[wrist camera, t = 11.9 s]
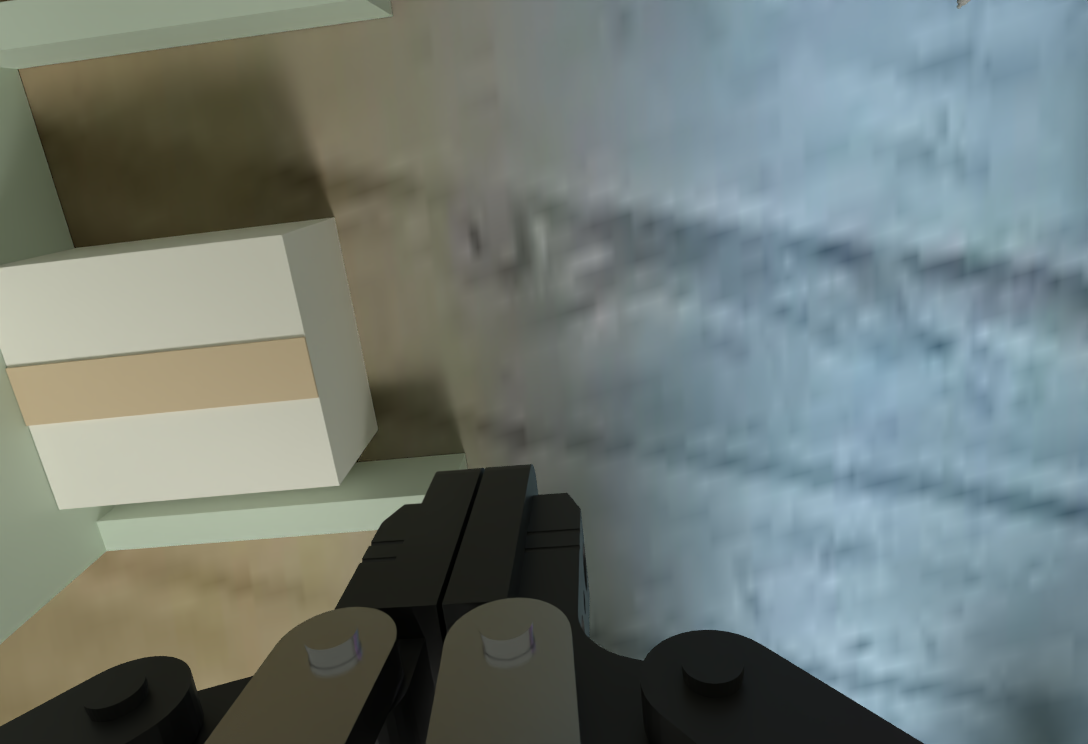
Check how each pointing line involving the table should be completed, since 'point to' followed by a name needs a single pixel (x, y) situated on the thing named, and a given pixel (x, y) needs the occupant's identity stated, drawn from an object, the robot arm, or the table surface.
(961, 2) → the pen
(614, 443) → the table surface
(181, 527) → the display stand
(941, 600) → the table surface
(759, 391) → the table surface
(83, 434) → the carton
